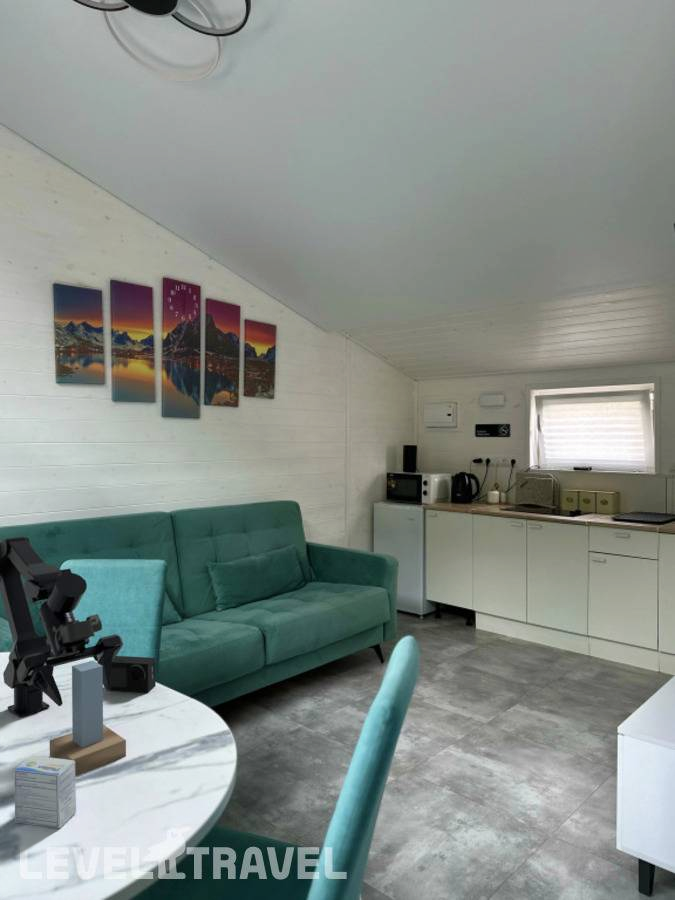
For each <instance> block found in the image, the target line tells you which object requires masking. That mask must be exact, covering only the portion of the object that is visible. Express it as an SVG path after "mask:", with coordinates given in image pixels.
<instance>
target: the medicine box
mask: <svg viewBox="0 0 675 900" xmlns="http://www.w3.org/2000/svg"><path fill="white" fill-rule="evenodd" d="M13 771H14V772H13V774H14V775H13V776H14V779H13V780H14V781H13V782H14V785H13V787H14V817H15V818H14V822H15V823H16V824H24V825H31V826H38V827H39V826H40V827H46V828H47V827H48V828H55V829H61V828H62V827H63V826H64V825H65V824H66V823H67V822H68V821H69V820H70V819H71V818H72V817H73V816H74V815H75V814H76V813H77V792H76V791H77V789H76V776H75V761H74V760H66V759H58V758H51V757H50V756H49V757H48V756H39V755H38V756H37V755H32V756H30V757H29V758H28V759H26V760H25V761H23V762H21V764H19V765H18V766H17V767H16V768H14V770H13Z"/></svg>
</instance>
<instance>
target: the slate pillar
mask: <svg viewBox="0 0 675 900" xmlns="http://www.w3.org/2000/svg"><path fill="white" fill-rule="evenodd" d="M103 693H104V685H103V666H102V665H100V664H98V663H97V661H95V660H90V661H86V662H82V663H78V664H75V665H71V695H72V696H71V699H72V701H71V703H72V704H71V711H72V712H71V713H72V716H71V717H72V724H71V725H72V726H71V728H72V731H71V733H73V741H74V742H75V743H77V744H78V745H79V746H80V747H82V748H83V747H86V746H88V745H91V744H94V743H97V742H99V741H102V740H103V725H104V694H103Z"/></svg>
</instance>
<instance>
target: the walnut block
mask: <svg viewBox="0 0 675 900" xmlns="http://www.w3.org/2000/svg"><path fill="white" fill-rule="evenodd" d="M124 757H127V739H125V738H123V737H122V736H120V735H119V734H118V733H116V732H115V731H114V730H112V729H111V728H109V727H107V726H106V725H105V724H103V740H102V741H99V742H97V743H94V744H91V745H88V746H86V747H83V748H82V747H80V746H79V745H78V744H77V743H75V742H74V741H73V732H71V733H67V734H65V735H62V736H59V737H57V738H53V739H50V740H49V758H58V759H66V760H74V761H75V777H76V776H79V775H81V774H83V773H86V772H89V771H91V770H93V769H94V770H95V769H96V768H99V767H102V766H103V765H106V764H109V763H111V762H113V761H114V762H115V761H117V760H120V759H123V758H124Z"/></svg>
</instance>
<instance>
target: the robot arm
mask: <svg viewBox="0 0 675 900" xmlns="http://www.w3.org/2000/svg"><path fill="white" fill-rule="evenodd" d="M22 577H23V579H24V580H25V582H24V584H23V579H22ZM87 587H88V584H87V581H86V580H85V579H84V578H83V577H82V576H81V575H79V574H77V573H73V572H72V570H71V568H64V569H61V568H59V567H58V566H56V565H51V564H47V563H46V562H45V561H44V559H43V558H42V557H41V556H40V555H39V554H38V552H37V551H36V550H35V549H34V547H33V546H32V545H31V544H30V540H29V538H28V536H13V537H12V536H11V537H6V538H5V539H2V540H1V541H0V595H1V596H0V597H1V598H2V603H3V606H4V607H3V608H4V610H5V614H6V618H7V622H8V627H9V630H10V634H11V635H10V636H11V637H12V642H13V643H12V647H11V650H10V652H9V655H8V662H7V665H6V667H5V669H4V671H3V673H2V674H3V683H4V684H5V685H6V686H7V687H9V688H10V689H12V690H13V704H12V705H9V706H7V710H8V711H9V712H10V713H11V712H12V713H13V714H14V715H15V716H17V717H19V718H22V717H25V716H28V715H31V714H33V713H34V714H35V713H37V712H41V711H44V710H46V709H50V704H49V703H47V702H46V701H44V694H45V695H46V696H47V697H49V699H50V700H52V701H53V703H54V704H56V705H57V706H58V707H61V706H62V705H63V699H62V696H61V691H60V690H59V687H58V685H57V681H55V677H54V667H58V666H62V665H66V664H70V663H73V662H77V661H82V660H85V659H89V658H92V657H93V659H94V660H93V661H95V662H96V663H98V664H100V665H102V666H103V688H104V689H105V691H106V692H111V691H110V689H111V664H112V660H113V658H115V657H116V656H118V654H119V652H120V650H121V649H122V647H123V646H124V642H123V640H122V636H120V635H118V634H110V635H107V636H103V637H102V636H101V637H100V638H99V639H98V640H97V641H96V644H95V645H93V646H87V647H86V645H88V644H89V643H90V642H91V641H90V638H91V637H93V638H94V637H95V633H98V632H99V631H102V629H103V625H102V619H101V618H100V616H99V614H98V613H97V614H92V615H88V617H86V618H85V620H82V621H80V620H79V619H77V620H76V618H75V615H74V611H75V609H76V608H77V607H78V606H79V603H81V600H82V598H83V597H84V594H85V593H86V592H87V591H86V590H87ZM28 600H29V601H30V602H31V603H38V602H43V603H42V604H41V605H40V607H39V610H38V617H37V619H38V621H41V622H42V625H43V629H44V631H45V633H46V635H40V634H38V632H37V631H36V628H35V624H34V620H33V616H32V613H31V610H30V605H29V601H28Z"/></svg>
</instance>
